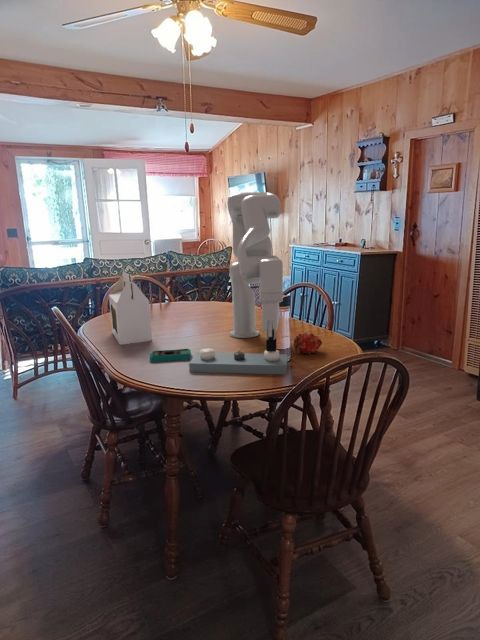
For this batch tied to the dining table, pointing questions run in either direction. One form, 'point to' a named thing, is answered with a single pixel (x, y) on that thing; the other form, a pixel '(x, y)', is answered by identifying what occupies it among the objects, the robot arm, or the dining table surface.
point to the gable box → (129, 312)
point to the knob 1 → (207, 354)
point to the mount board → (239, 364)
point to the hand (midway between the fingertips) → (271, 350)
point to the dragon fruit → (307, 343)
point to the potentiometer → (239, 355)
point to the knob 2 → (271, 355)
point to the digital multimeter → (170, 355)
